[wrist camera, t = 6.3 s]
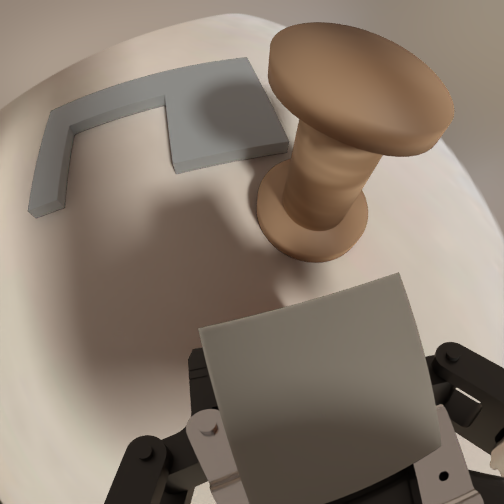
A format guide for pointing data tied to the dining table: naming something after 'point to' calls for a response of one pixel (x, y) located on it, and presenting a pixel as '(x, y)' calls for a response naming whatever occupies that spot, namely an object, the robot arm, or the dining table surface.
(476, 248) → the dining table surface
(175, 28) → the dining table surface
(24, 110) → the dining table surface
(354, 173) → the bobbin
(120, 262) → the dining table surface
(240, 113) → the notched board
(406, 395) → the orange tall block
